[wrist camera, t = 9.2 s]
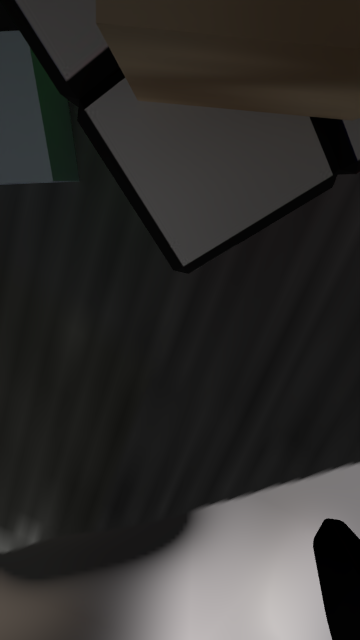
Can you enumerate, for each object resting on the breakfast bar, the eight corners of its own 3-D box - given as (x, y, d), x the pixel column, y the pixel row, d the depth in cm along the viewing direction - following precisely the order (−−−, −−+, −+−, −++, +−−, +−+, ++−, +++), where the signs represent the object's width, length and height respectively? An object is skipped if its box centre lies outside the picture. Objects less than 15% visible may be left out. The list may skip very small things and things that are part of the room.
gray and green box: (-13, 185, 18) (-65, 186, 14) (-42, 71, 16) (-111, 37, 12) (80, 181, 17) (53, 181, 14) (63, 66, 15) (26, 30, 12)
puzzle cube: (351, 122, 16) (572, 47, 7) (180, 232, 18) (180, 284, 9) (260, -126, 13) (453, -867, 4) (64, 42, 15) (-116, -171, 6)
